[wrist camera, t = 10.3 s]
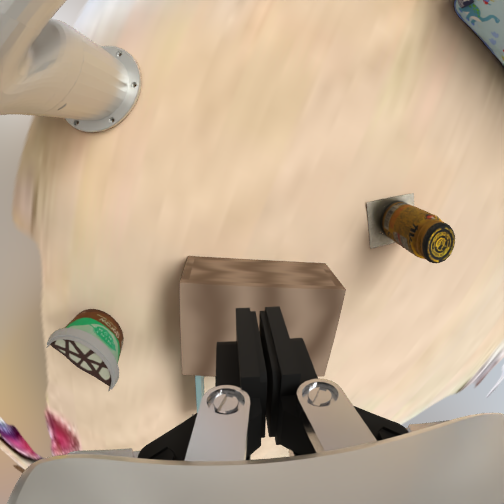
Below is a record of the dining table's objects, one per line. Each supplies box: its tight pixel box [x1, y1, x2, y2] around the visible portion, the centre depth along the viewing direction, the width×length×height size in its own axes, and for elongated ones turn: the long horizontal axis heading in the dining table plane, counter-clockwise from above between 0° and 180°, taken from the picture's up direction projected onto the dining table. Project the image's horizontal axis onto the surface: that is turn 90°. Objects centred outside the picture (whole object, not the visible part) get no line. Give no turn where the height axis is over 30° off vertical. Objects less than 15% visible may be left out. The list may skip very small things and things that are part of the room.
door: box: [192, 376, 204, 416], centre depth 47 cm, size 16×2×7 cm, turn 176°
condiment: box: [367, 193, 455, 263], centre depth 39 cm, size 7×8×12 cm
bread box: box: [180, 256, 346, 377], centre depth 43 cm, size 20×14×9 cm
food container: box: [46, 309, 124, 391], centre depth 42 cm, size 12×6×10 cm, turn 49°
